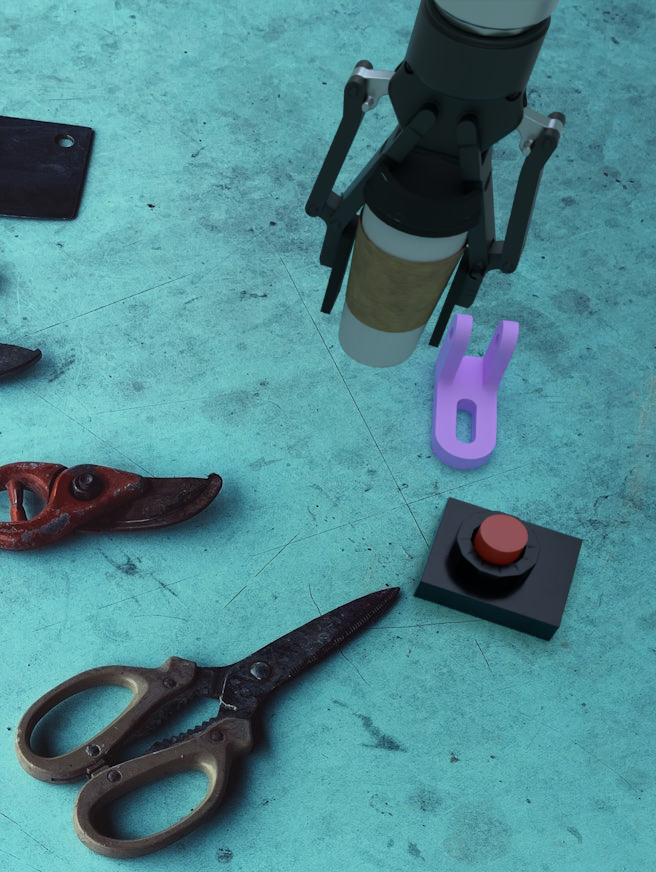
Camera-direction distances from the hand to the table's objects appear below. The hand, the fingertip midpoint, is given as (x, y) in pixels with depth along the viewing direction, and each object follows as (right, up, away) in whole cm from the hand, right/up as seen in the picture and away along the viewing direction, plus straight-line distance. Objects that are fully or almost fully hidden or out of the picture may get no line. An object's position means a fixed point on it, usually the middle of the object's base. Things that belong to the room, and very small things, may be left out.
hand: (383, 317), depth 89 cm
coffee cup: (0, -1, +2) cm, 2 cm away
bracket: (+14, 0, +24) cm, 28 cm away
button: (+13, -14, +12) cm, 23 cm away
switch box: (+14, -16, +15) cm, 26 cm away
